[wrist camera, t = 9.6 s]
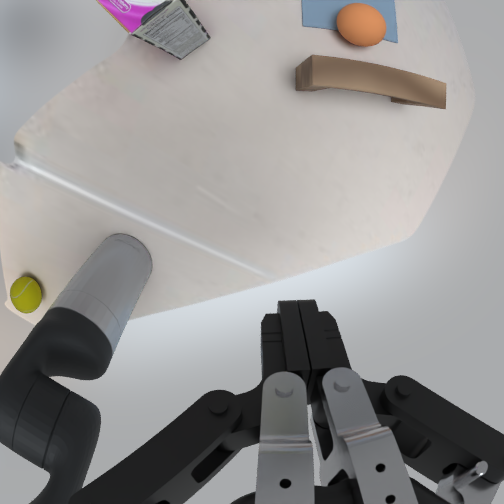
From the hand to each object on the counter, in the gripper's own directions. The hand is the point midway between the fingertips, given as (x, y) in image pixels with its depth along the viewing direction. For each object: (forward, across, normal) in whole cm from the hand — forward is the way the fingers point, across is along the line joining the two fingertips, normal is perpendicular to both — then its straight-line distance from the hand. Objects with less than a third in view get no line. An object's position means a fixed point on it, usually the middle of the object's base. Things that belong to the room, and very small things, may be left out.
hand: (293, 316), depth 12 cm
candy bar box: (+27, +11, -20) cm, 36 cm away
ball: (+24, -12, -20) cm, 33 cm away
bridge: (+27, -11, -12) cm, 32 cm away
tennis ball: (+27, +46, +19) cm, 56 cm away
